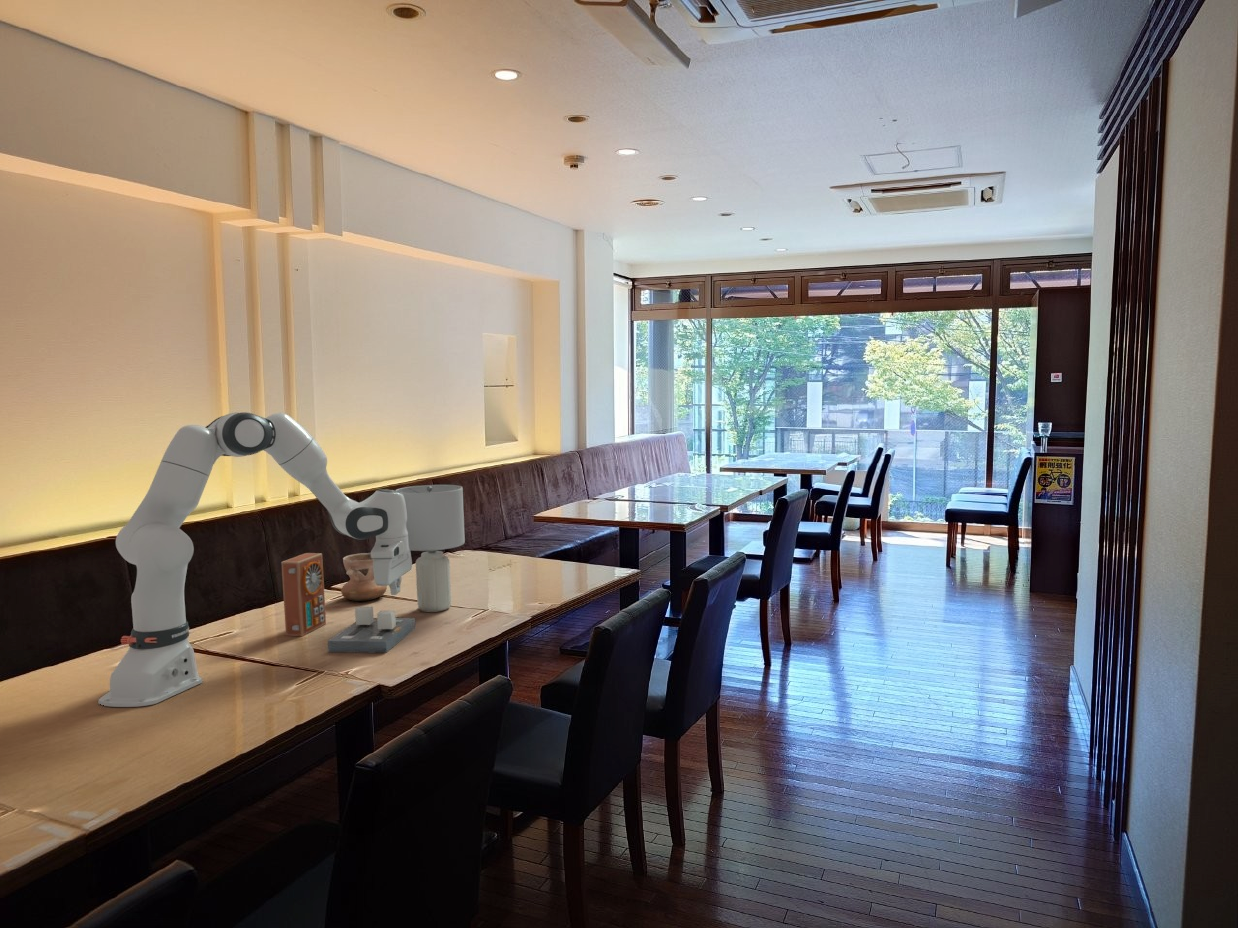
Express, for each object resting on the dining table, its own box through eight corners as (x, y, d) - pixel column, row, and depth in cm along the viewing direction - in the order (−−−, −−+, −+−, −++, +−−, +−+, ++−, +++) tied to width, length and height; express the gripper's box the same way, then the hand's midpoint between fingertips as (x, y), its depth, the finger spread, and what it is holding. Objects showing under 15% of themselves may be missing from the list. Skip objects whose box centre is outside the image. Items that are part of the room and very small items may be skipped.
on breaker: (369, 624, 234) (368, 609, 233) (355, 624, 234) (355, 609, 234) (373, 621, 237) (372, 606, 236) (360, 621, 237) (359, 606, 237)
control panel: (330, 622, 249) (302, 637, 235) (309, 621, 251) (280, 636, 236) (326, 552, 247) (297, 563, 232) (305, 551, 249) (275, 562, 234)
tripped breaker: (391, 629, 229) (391, 613, 228) (377, 628, 229) (377, 613, 229) (395, 625, 232) (395, 610, 231) (382, 625, 232) (381, 610, 232)
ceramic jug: (370, 606, 267) (367, 562, 266) (330, 603, 271) (328, 561, 270) (398, 592, 285) (396, 551, 283) (361, 590, 288) (359, 550, 287)
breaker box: (386, 652, 220) (386, 641, 219) (328, 652, 221) (327, 640, 221) (415, 628, 241) (414, 617, 241) (361, 627, 243) (361, 617, 243)
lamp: (430, 621, 248) (424, 492, 244) (387, 611, 260) (381, 488, 257) (480, 606, 264) (476, 484, 260) (438, 597, 276) (433, 481, 273)
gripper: (395, 538, 246) (398, 584, 248) (367, 553, 226) (371, 603, 227) (415, 538, 246) (418, 584, 247) (390, 553, 225) (393, 603, 227)
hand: (395, 593), depth 237 cm, fingers closed
